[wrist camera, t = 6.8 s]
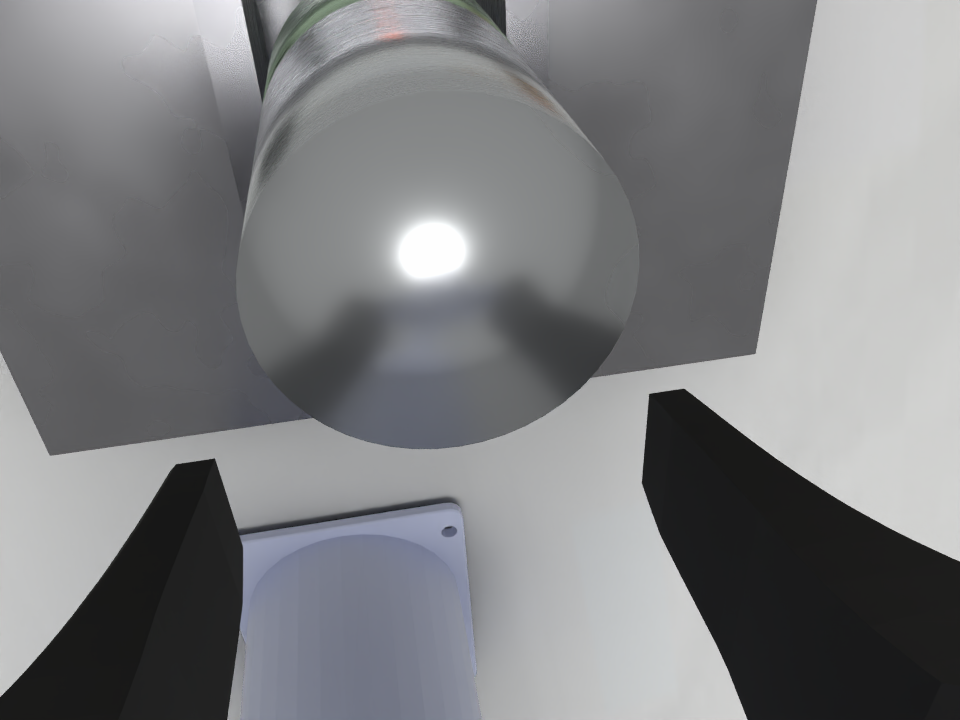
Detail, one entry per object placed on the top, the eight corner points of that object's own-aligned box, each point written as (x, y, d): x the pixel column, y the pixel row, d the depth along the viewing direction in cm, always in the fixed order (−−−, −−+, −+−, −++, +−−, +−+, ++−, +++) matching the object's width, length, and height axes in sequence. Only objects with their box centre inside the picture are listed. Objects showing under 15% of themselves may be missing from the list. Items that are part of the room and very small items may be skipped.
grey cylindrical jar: (515, 197, 15) (629, 421, 9) (292, 223, 14) (280, 473, 9) (508, -47, 12) (652, 68, 7) (242, -24, 12) (188, 116, 7)
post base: (738, 332, 25) (801, 411, 22) (61, 427, 23) (19, 531, 20) (896, -675, 14) (1080, -824, 10) (-436, -675, 11) (-733, -861, 8)
